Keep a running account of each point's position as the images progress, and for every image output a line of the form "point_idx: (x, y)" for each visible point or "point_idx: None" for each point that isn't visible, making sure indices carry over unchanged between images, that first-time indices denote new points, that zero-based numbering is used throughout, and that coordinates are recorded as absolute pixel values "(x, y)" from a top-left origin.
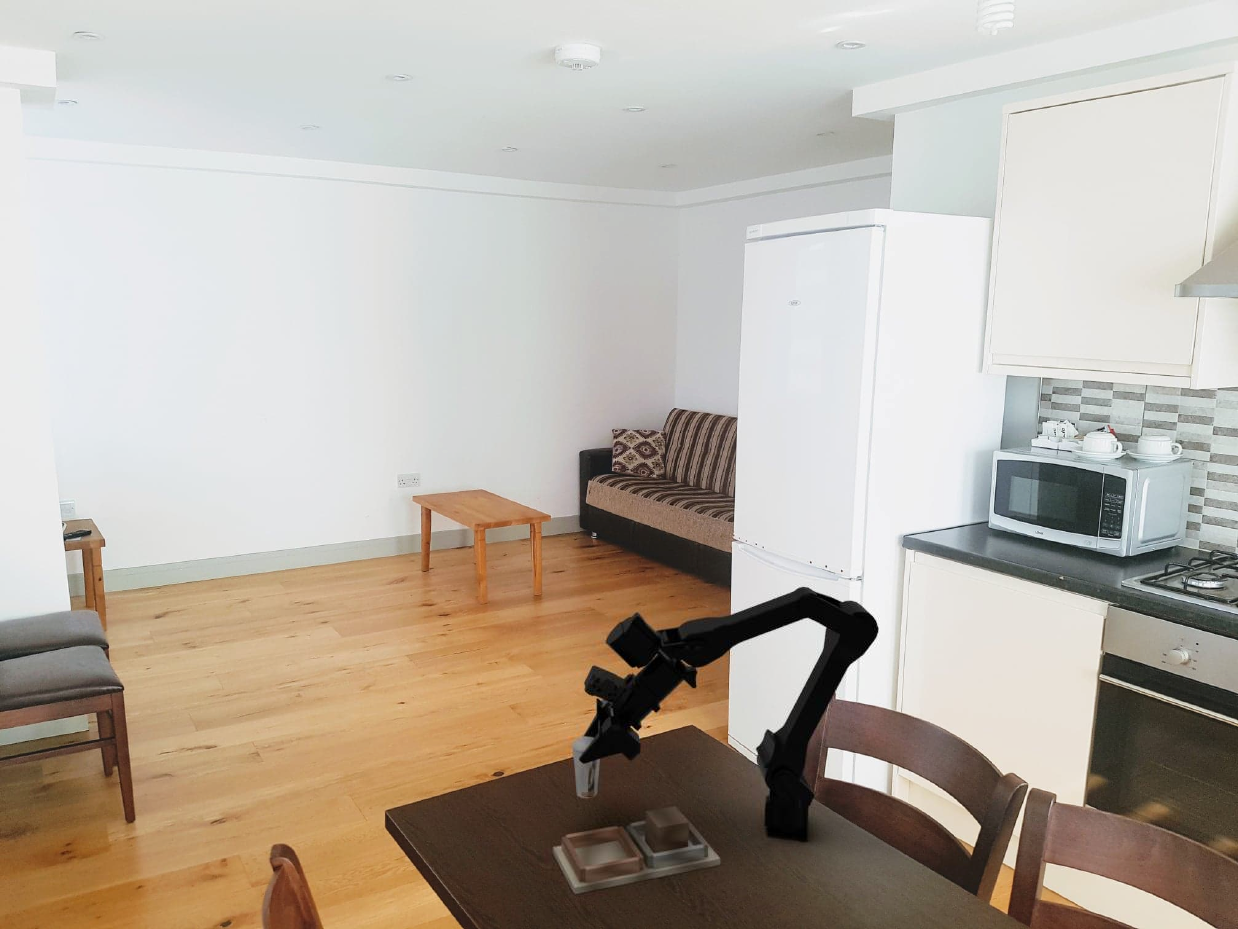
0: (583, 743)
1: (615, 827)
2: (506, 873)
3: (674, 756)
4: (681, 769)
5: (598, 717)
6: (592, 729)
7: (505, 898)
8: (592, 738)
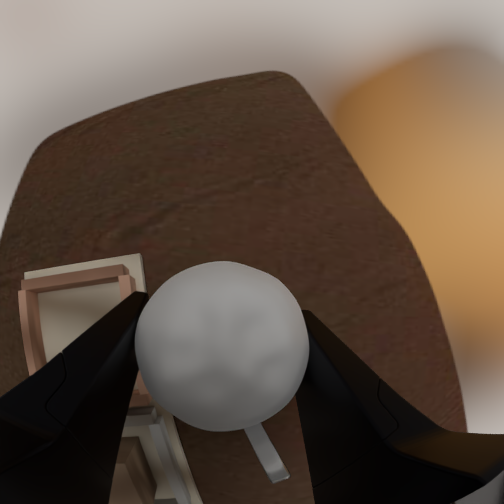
0: (174, 320)
1: (143, 389)
2: (107, 175)
3: None
4: None
5: (391, 460)
6: (338, 398)
7: (53, 174)
8: (253, 391)
